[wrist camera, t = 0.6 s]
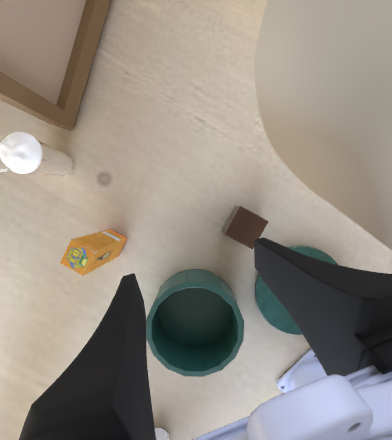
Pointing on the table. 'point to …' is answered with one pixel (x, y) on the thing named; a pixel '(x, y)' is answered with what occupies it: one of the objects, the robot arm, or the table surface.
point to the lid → (273, 307)
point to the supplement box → (93, 251)
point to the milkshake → (33, 156)
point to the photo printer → (161, 434)
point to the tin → (195, 324)
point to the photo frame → (48, 55)
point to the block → (244, 226)
